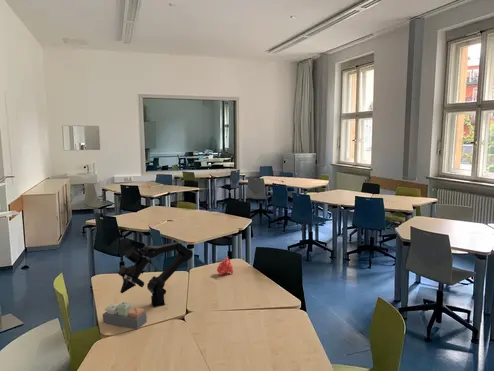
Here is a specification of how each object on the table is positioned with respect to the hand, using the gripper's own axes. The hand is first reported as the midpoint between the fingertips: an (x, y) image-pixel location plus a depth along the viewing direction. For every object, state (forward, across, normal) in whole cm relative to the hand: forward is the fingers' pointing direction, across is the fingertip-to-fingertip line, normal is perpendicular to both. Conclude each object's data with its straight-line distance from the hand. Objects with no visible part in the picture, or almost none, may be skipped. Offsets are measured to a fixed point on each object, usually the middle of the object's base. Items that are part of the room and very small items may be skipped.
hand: (121, 292), depth 197 cm
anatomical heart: (-46, -6, +66) cm, 80 cm away
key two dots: (+9, +6, +6) cm, 13 cm away
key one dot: (+13, 0, +6) cm, 14 cm away
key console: (+11, +6, +8) cm, 15 cm away
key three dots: (+8, +13, +10) cm, 18 cm away
